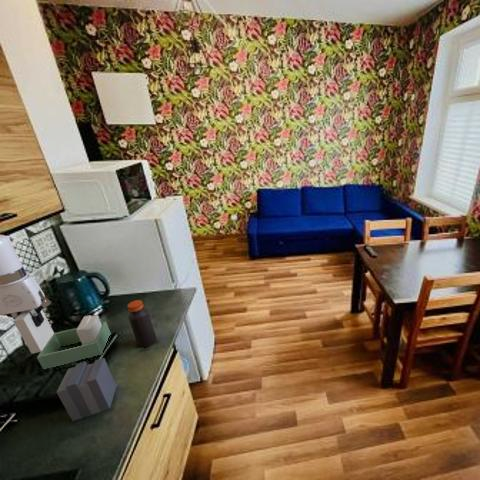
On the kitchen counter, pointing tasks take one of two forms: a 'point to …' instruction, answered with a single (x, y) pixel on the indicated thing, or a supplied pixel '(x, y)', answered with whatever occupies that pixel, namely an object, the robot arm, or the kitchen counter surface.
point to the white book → (33, 331)
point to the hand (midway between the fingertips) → (33, 325)
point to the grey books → (87, 389)
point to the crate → (56, 358)
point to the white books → (89, 329)
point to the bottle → (141, 324)
